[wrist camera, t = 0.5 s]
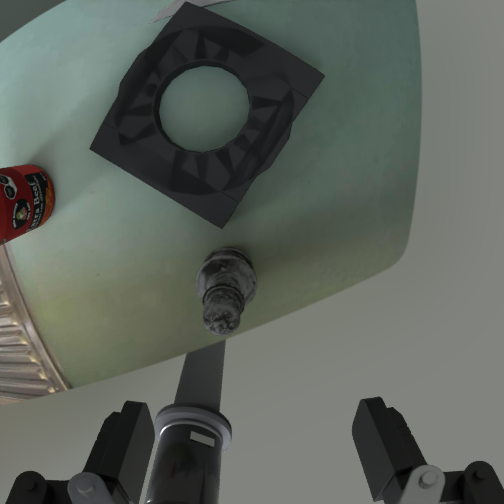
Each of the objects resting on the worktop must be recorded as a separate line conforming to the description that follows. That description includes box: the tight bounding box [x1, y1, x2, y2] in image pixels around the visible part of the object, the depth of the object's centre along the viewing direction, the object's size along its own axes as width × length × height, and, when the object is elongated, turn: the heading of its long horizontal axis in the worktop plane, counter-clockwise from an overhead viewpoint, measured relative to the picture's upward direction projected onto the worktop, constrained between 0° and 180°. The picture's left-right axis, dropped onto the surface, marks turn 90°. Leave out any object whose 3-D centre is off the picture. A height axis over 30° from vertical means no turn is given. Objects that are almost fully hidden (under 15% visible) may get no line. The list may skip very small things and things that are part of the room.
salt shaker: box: [196, 247, 257, 335], centre depth 27 cm, size 6×6×12 cm
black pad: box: [89, 1, 325, 229], centre depth 27 cm, size 18×17×2 cm
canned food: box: [0, 165, 54, 245], centre depth 25 cm, size 8×8×11 cm
